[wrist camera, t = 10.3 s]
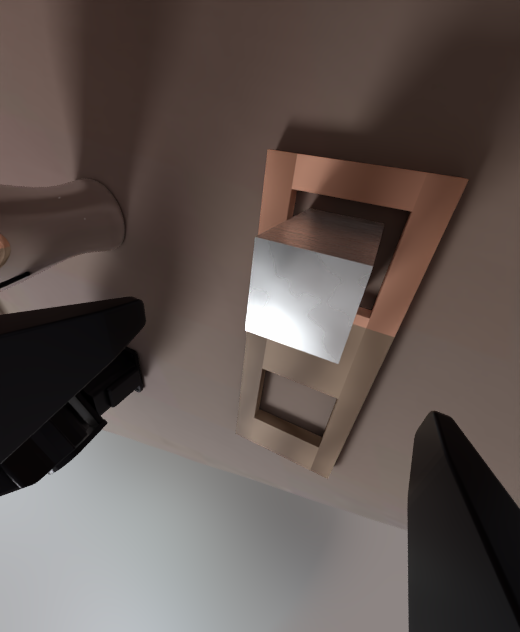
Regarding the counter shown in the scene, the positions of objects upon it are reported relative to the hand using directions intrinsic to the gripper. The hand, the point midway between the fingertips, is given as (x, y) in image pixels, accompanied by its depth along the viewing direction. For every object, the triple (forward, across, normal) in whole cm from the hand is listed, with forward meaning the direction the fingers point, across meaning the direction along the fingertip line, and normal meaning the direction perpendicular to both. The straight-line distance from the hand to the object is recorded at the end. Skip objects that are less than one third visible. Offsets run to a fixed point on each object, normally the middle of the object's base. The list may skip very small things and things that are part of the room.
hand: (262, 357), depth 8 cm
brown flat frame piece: (+12, 0, +8) cm, 14 cm away
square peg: (+12, 0, 0) cm, 12 cm away
